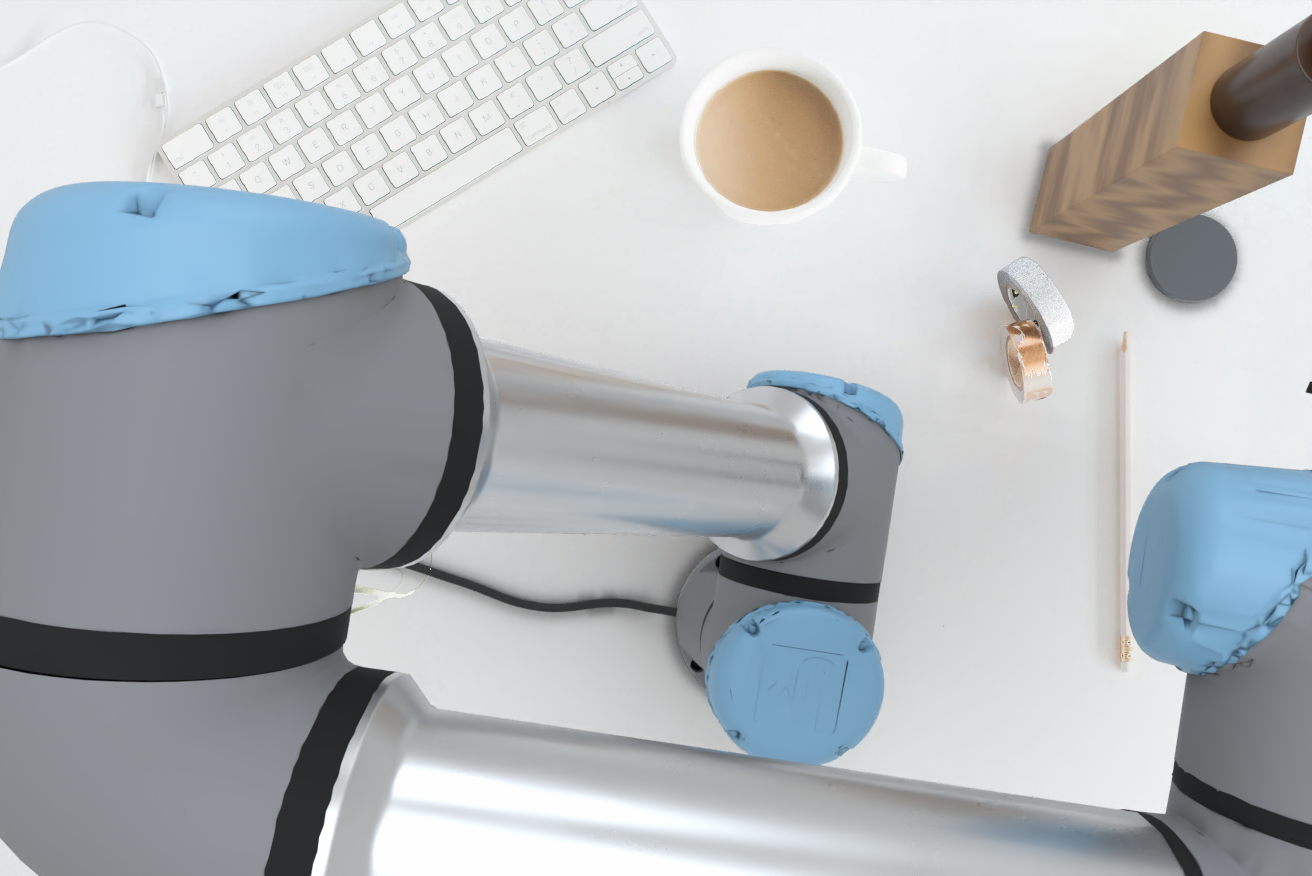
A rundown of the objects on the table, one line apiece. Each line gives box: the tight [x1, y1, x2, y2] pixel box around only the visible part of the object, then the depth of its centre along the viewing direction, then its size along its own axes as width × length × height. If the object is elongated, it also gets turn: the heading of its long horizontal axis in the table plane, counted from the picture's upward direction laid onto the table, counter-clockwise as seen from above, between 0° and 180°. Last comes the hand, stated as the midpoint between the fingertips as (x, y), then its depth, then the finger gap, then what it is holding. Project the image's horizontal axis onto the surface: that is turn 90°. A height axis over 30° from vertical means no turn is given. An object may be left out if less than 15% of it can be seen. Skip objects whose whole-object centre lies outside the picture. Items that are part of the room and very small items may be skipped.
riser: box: [1029, 30, 1308, 253], centre depth 66 cm, size 8×8×22 cm
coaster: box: [1145, 214, 1238, 303], centre depth 77 cm, size 8×8×1 cm
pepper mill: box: [1211, 13, 1312, 141], centre depth 51 cm, size 5×5×9 cm
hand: (1288, 490), depth 55 cm, fingers open, 13 cm apart
